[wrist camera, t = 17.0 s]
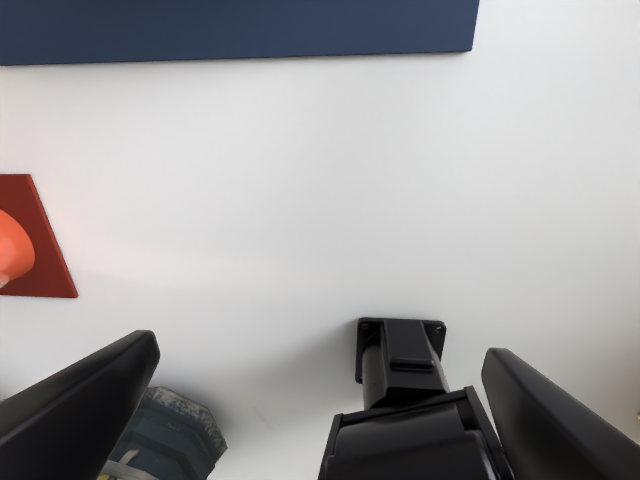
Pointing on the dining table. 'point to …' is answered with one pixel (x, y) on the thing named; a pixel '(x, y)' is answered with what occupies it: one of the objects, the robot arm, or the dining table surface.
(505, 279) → the dining table surface
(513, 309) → the dining table surface
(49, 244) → the red mat
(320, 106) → the dining table surface
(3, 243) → the red spoon pot
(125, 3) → the blue mat
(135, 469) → the lantern
